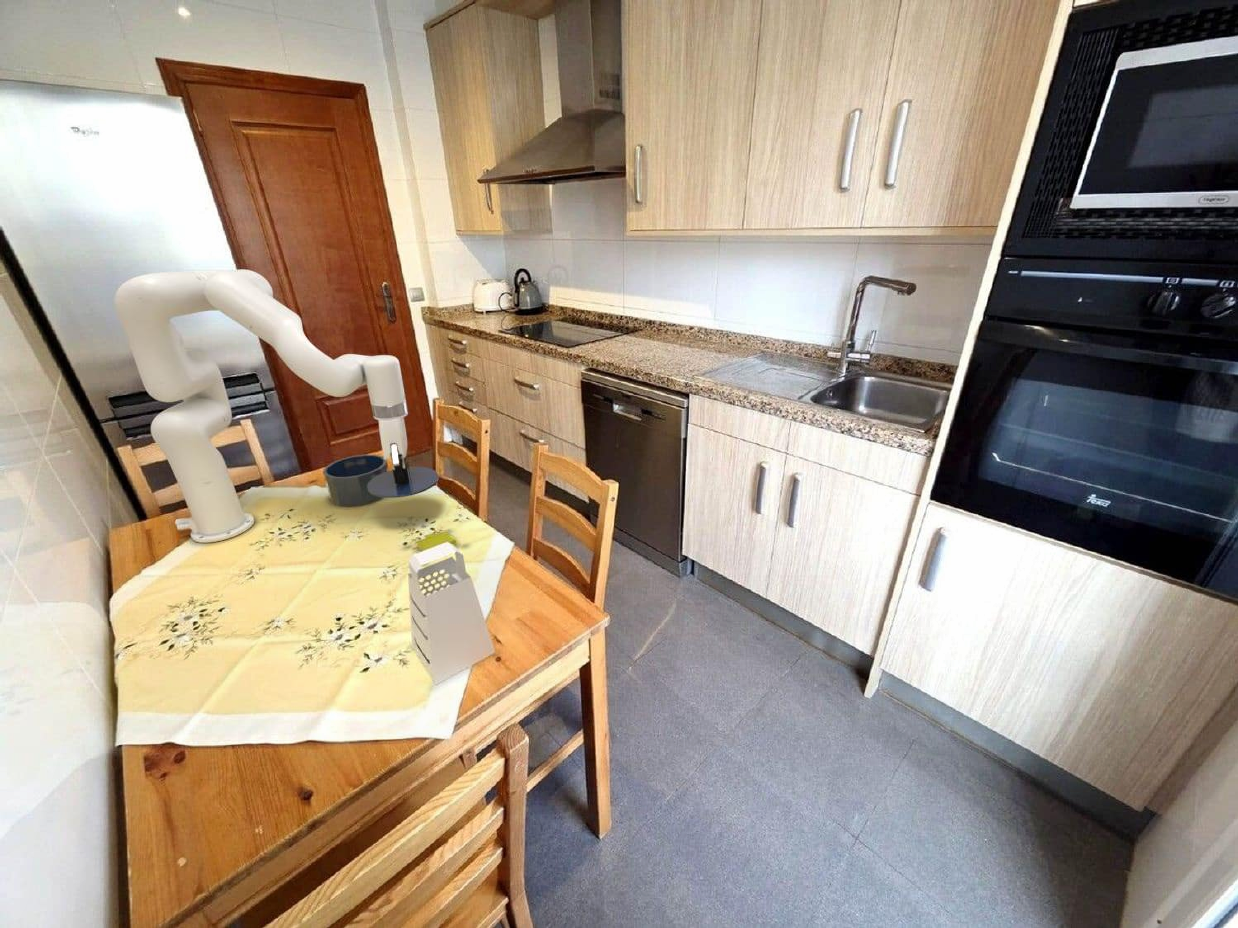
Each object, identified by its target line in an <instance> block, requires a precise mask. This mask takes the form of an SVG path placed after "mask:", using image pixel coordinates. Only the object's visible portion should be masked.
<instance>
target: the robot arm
mask: <svg viewBox="0 0 1238 928" xmlns="http://www.w3.org/2000/svg"><path fill="white" fill-rule="evenodd" d="M113 299H114V303H113V304H114V310H115V313H116V316H117V319H118V321H119V322H120V325H121V327H122V329H123V331H124V333H125V336H126V337H127V338H126V339H127V341H128V343H129V347H130V350H131V353H132V356H133V359H134V362H135V364H136V368H137V371H138V373H139V377H140V380H141V382H142V384H143V387H144V389H145V391H146V392H147V393H148V395H149V396H150V397H152V398H153V399H154V400H156V401H159V402H163V403H174V402H179V403H177V404H175V405H173V406H170V407H168V408H166V409H164V410H163V411H161V412H160V413H158V414H157V415H156V416H155V417H154V419H153V420H152V422H151V423H150V434H151V436H152V439H153V441H154V442H155V443H156V445H157V446H158V448H159V449H160V450H161V452H162V453H163V455H164V456H165V458H166V460H167V462H168V464H169V465H170V468H171V470H172V472H173V475H174V477H175V479H176V482H177V484H178V487H179V489H180V491H181V494H182V496H183V498H184V501H185V504H186V506H187V508H188V511H189V513H190V515H191V516H190V517H183V518H177V519H175V522H174V524H175V526H176V529H177V531H185V530H188V529H189V530H191V531H190V537H191V540H193V542H197V543H216V542H220V541H221V542H222V541H225V540H228V539H231V538H234V537H236V536H240V535H241V534H243V533H244V532H247V531H248V530H249V529H250V528H252V526H253V525H254V523H255V519H254V516H253V515H252V514H251V513H247V512H244V510H243V508H242V505H241V502H240V499H239V496H238V494H237V491H236V488H235V486H234V483H233V479H232V477H231V474H230V472H229V469H228V467H227V464H226V461H225V458H224V457H223V455H222V453H221V452H220V451H219V450H218V449H217V448H216V447H215V446H214V444H213V443H212V441H211V439H213V438H214V437H215V436H217V435H219V434H220V433H222V432H224V431H225V430H226V429H227V428H228V427H229V426H230V425H231V423H232V418H233V413H232V407H231V404H230V400H229V397H228V396H229V395H228V393H227V390H226V385H225V383H224V379H223V376H222V371H220V368H219V366H218V365H217V364H216V362H215V361H214V360H213V359H212V358H211V357H210V356H209V355H208V354H205V353H204V352H202V351H199V350H195V349H186V347H185V343H184V340H183V337H182V335H181V333H180V331H179V330H178V329H177V327H176V326H175V325H174V324H173V323H172V322H171V319H173V318H176V317H180V316H187V315H192V314H197V313H203V312H211V311H212V312H213V311H219V312H221V314H223V315H225V316H226V317H228V318H229V319H230V320H232V321H234V322H235V323H236V324H239V325H240V326H242V327H243V328H244V329H246V330H248V331H249V332H251V333H252V334H253V335H255V336H256V337H258V338H259V339H261V340H262V341H264V342H265V343H267V344H268V345H270V346H271V347H272V348H273V349H274V350H275V351H276V353H277V355H278V356H279V358H280V359H281V361H283V362H284V364H285V365H286V366H287V367H288V368H289V369H290V371H291V372H293V373H294V374H295V375H296V376H298V377H299V378H300V379H302V380H303V381H304V382H306V383H308V384H309V385H310V386H312V387H313V388H315V389H317V390H319V391H320V392H322V393H324V394H326V395H328V396H332V397H335V398H343V397H348V396H349V395H351V394H353V393H354V392H355V391H356V390H357V389H359V388H362V387H363V386H367V391H368V395H369V401H370V407H371V411H372V416H373V419H374V420H376V421H378V430H379V438H380V445H381V450H382V456H383V457H384V460H387V461H388V460H391V461H390V462H391V466H392V470H393V474H394V480H395V484H404V483H409V476H410V471H409V476H408V471H407V467H405V461H404V460H406V461H407V465H408V470H409V467H410V466H409V461H408V457H407V453H408V436H407V430H406V429H407V428H406V424H405V418H406V417H407V416H408V415H409V411H408V405H407V400H406V399H407V398H406V394H405V388H404V380H403V376H402V370H401V364H400V361H399V359H398V358H397V357H396V356H393V355H390V354H379V355H378V354H377V355H365V354H364V355H363V354H355V353H346V354H342V355H340V356H339V357H336V358H334V359H333V358H331V357H330V356H328V355H327V354H325V353H324V352H323V351H321V350H320V349H318V348H317V347H316V346H315V345H314V344H313V343H312V342H310V340H309V339H308V338H307V336H306V335H305V333H304V330H303V329H304V328H303V321H302V318H301V317H300V315H299V314H297V313H296V312H294V311H293V310H291V309H290V308H288V307H287V306H286V305H284V304H283V303H281V302H280V301H278V300H277V299H276V298H274V291H273V288H272V286H271V284H270V282H269V281H268V280H267V279H266V278H265V277H264V276H263V275H262V274H260V273H258V272H256V271H253V270H251V269H245V268H244V269H243V268H241V269H222V270H221V269H220V270H219V269H218V270H217V269H216V270H215V269H211V270H209V269H208V270H205V269H203V270H199V269H198V270H196V269H195V270H177V271H162V272H153V273H152V272H151V273H148V274H142V275H139V276H135V277H132V278H130V279H128V280H127V281H124V282H123V283H122V284H121V285H120V286H119V287H118V289H117V290H116V292H115V295H114V298H113ZM180 401H182V402H180ZM399 460H402V462H401V461H399Z"/></svg>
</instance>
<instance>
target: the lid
mask: <svg viewBox="0 0 1238 928" xmlns="http://www.w3.org/2000/svg"><path fill="white" fill-rule="evenodd" d="M399 461H401V462H402V460H399ZM404 461H405V467H407V471H408V476H409V471H410V476H409V483H404V484H395V480H394V474H393V469H389V471H387V472H384V473H382V474H379V475H377V476H376V477H374V478H373V479H371V480H370V481H369V483H368V485H367V489H368V491H369V492H370V493H371V494H373V495H375V496H378V497H384V498H385V499H395V498H398V499H399V498H405V497H411V496H415V495H418V494H421V493H423V492H426V491H428V490H430V489H431V488H433V487H434V486H436V485H437V483H438V482H439V480H440V476H439V473H438V472H437V471H436V470H434V469H433V468H429V467H423V466H409V470H408V465H409V464H408V465H407V461H408V460H407V461H406V460H404ZM384 498H383V499H384Z"/></svg>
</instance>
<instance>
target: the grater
mask: <svg viewBox="0 0 1238 928" xmlns="http://www.w3.org/2000/svg"><path fill="white" fill-rule="evenodd" d="M452 554H454V556H455V558H454V557H453V556H450V555H452ZM447 556H450V557H447ZM444 557H447V558H445V559H443V560H439V559H441V558H444ZM437 560H439V561H438V562H435V563H433V564H430V565H428V566H425V567H423V568H422V566H423V565H426V564H429V563H431V562H434V561H437ZM408 567H409V571H410V572H409V573H408V574H407V579H408V594H409V595H408V596H409V597H408V598H409V612H410V614H409V615H410V631H411V633H410V634H411V648H412V650H413V651H414V653H415V655H416V656H417V658H418V660H419V661H420V662H421V664H422V666H423V667H424V669H425V670H426V672H427V674H428V675H429V677H430V678H431V680H432V681H433V683H434V685H435V686H436V685H439V684H440V683H442V682H444V681H447V680H448V679H450V678H451V677H453V676H455V675H457V674H459V673H461V672H463V671H464V670H466V669H468V668H470V667H472V666H474V665H475V664H477V663H479V662H481V661H483V660H485V659H487V658H489V657H490V656H492V655H494V654H496V650H495V647H494V644H493V641H492V637H491V634H490V631H489V628H488V625H487V623H486V619H485V616H484V613H483V610H482V608H481V607H482V606H481V604H480V601H479V597H478V594H477V591H476V588H475V585H474V583H473V582H474V581H473V578H472V576H471V575H469V573H468V572H467V570H466V566H465V557H464V553H462V552H461V551H460V550H459V549H458V548H457V546H454V545H452V544H451V543H449V542H446V543H443V544H440V545H438V546H435V547H432V548H430V549H427V550H424V551H422V552H421V551H419V552H417V553H414V554H412V556H411V557H410V559H409V560H408ZM442 570H443V573H441V571H442ZM435 573H437V575H435V576H434V574H435ZM446 575H448V576H447V577H445V576H446ZM428 576H430V578H429V579H427V577H428ZM441 577H442V579H441V580H439V578H441ZM421 579H423V580H422V581H420V580H421ZM433 580H435V582H434V583H432V581H433ZM443 582H445V583H444V584H442V583H443ZM426 583H428V585H427V586H425V584H426ZM436 585H439V586H438V587H436ZM430 587H431V588H432V589H431V590H429V588H430ZM423 590H426V591H425V592H424V593H423V592H422V591H423ZM427 660H429V661H427Z"/></svg>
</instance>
